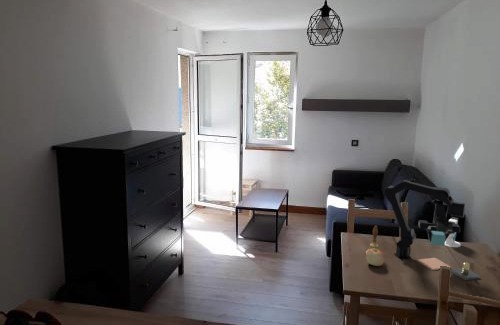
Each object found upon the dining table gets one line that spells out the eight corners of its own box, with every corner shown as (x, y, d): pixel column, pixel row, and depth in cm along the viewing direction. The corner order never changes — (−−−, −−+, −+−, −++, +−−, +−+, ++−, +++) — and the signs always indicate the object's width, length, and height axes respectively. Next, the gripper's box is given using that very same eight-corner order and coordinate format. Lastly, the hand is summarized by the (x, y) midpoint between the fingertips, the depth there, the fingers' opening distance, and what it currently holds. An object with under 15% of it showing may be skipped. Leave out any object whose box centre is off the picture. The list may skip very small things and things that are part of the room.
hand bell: (362, 252, 211) (364, 224, 208) (374, 250, 214) (376, 222, 211) (372, 258, 204) (375, 229, 201) (384, 256, 207) (387, 228, 204)
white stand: (458, 249, 219) (462, 224, 216) (437, 244, 225) (440, 219, 223) (462, 243, 228) (465, 219, 225) (441, 238, 235) (444, 214, 232)
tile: (432, 270, 192) (432, 268, 191) (417, 260, 202) (417, 259, 202) (450, 268, 194) (450, 266, 194) (435, 259, 205) (435, 257, 205)
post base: (464, 280, 182) (466, 268, 181) (450, 271, 191) (451, 260, 190) (479, 278, 185) (481, 266, 184) (465, 269, 193) (466, 258, 192)
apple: (368, 259, 202) (370, 245, 200) (385, 264, 197) (387, 249, 195) (363, 265, 195) (364, 250, 193) (380, 270, 190) (382, 255, 188)
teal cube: (431, 244, 194) (432, 234, 193) (429, 240, 200) (430, 230, 199) (444, 245, 192) (445, 236, 191) (441, 241, 198) (443, 232, 197)
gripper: (423, 215, 188) (419, 245, 191) (465, 220, 183) (461, 250, 186) (419, 209, 198) (416, 237, 201) (459, 213, 193) (455, 242, 196)
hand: (436, 242), depth 196 cm, fingers closed on teal cube, 6 cm apart
